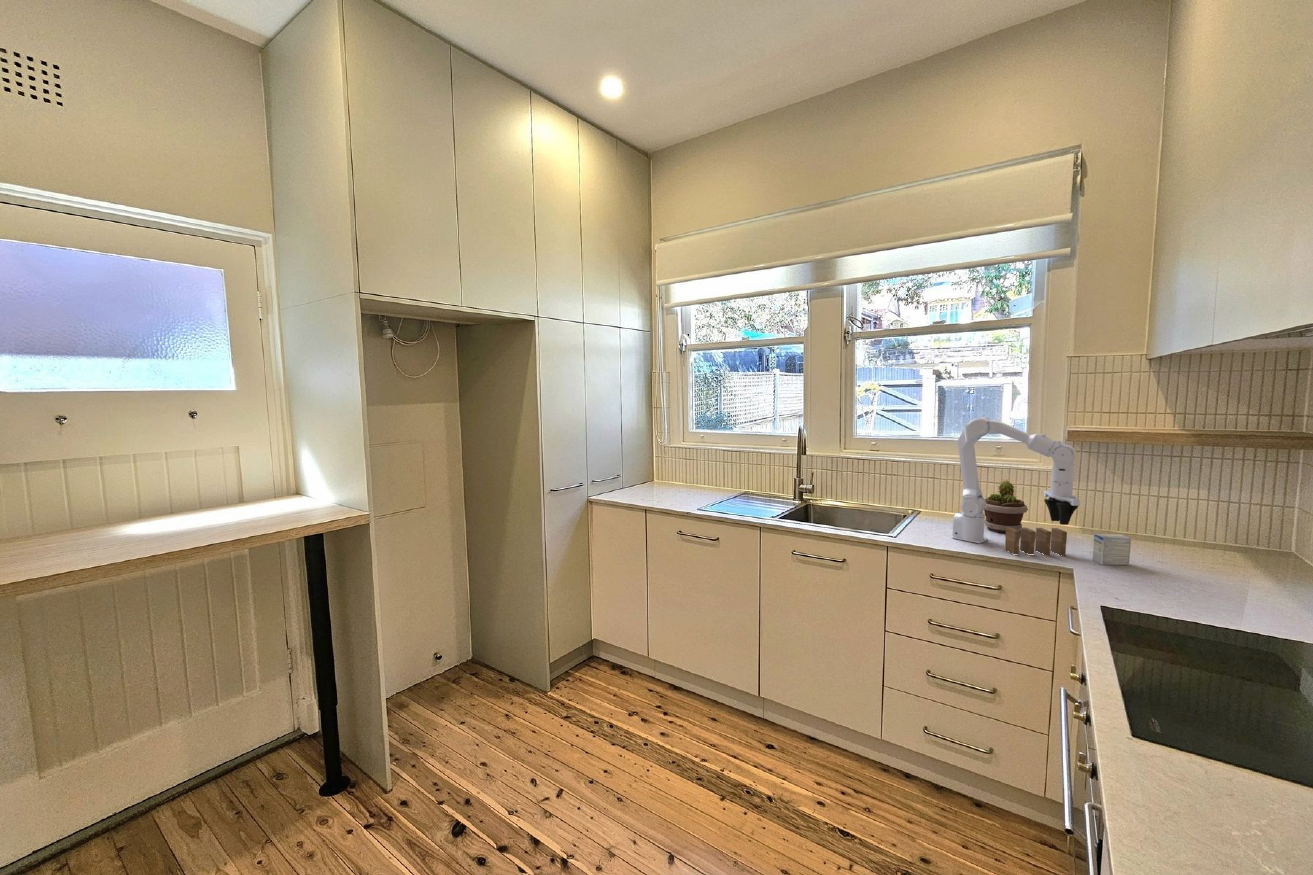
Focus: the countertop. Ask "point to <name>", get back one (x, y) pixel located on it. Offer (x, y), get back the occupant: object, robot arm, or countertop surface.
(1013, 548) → the domino
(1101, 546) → the medicine box
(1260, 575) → the countertop surface
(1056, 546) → the domino
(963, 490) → the robot arm
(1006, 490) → the flowerpot
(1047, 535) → the domino
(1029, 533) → the domino
